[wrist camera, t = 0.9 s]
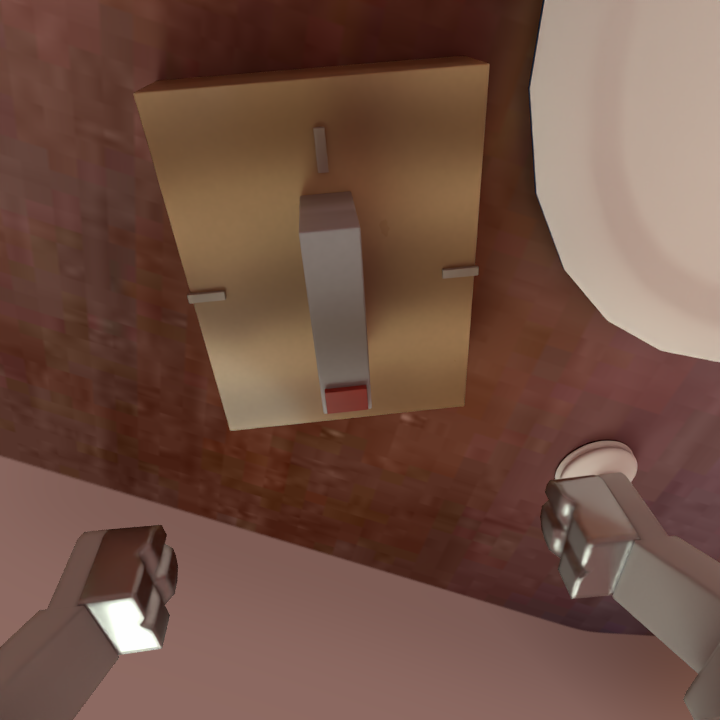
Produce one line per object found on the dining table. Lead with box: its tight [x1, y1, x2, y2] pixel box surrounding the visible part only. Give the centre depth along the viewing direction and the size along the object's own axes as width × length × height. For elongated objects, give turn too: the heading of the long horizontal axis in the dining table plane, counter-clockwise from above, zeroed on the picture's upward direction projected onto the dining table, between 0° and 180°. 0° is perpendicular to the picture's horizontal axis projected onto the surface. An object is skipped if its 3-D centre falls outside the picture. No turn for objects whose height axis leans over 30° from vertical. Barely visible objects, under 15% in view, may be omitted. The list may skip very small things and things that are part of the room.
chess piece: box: [555, 441, 637, 482], centre depth 28 cm, size 5×5×10 cm
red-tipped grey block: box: [299, 191, 372, 414], centre depth 18 cm, size 7×2×4 cm, turn 4°
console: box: [134, 56, 490, 431], centre depth 21 cm, size 14×11×3 cm
